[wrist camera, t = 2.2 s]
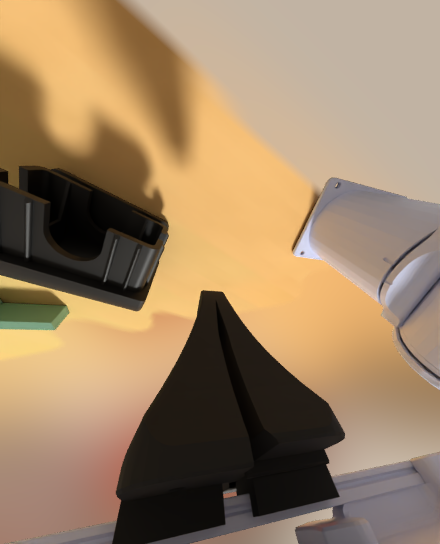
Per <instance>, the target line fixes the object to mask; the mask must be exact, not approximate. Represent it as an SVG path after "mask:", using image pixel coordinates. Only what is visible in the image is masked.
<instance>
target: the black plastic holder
mask: <svg viewBox="0 0 440 544" xmlns="http://www.w3.org/2000/svg"><path fill="white" fill-rule="evenodd" d="M168 227H169V225H168V223H167V222H166V221H165V220H163V219H161V218H159V217H157V216H155V215H153V214H151V213H149V212H147V211H145V210H143V209H141V208H139V207H137V206H135V205H133V204H131V203H129V202H127V201H125V200H123V199H121V198H119V197H117V196H115V195H113V194H111V193H109V192H107V191H105V190H103V189H101V188H99V187H97V186H95V185H93V184H91V183H89V182H87V181H85V180H83V179H81V178H79V177H77V176H75V175H73V174H71V173H69V172H67V171H65V170H62V169H52V170H50V169H47V168H44V167H40V166H19V189H18V188H16V187H14V186H11V185H9V184H8V171H6V170H4V169H1V168H0V275H2V276H6V277H10V278H13V279H17V280H21V281H25V282H28V283H32V284H36V285H40V286H43V287H47V288H51V289H55V290H58V291H62V292H66V293H70V294H73V295H77V296H81V297H85V298H88V299H92V300H96V301H100V302H103V303H107V304H111V305H115V306H118V307H122V308H126V309H130V310H133V311H139V310H140V309H141V308H142V306H143V304H144V302H145V300H146V298H147V295H148V292H149V289H150V287H151V284H152V281H153V278H154V275H155V273H156V270H157V267H158V264H159V259H160V257H161V255H162V253H163V250H164V246H165V243H166V241H167V239H168V237H169V235H168V233H167V231H168Z"/></svg>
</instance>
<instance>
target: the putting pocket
mask: <svg viewBox="0 0 440 544" xmlns="http://www.w3.org/2000/svg"><path fill="white" fill-rule="evenodd" d="M68 314H69V311H68V308H67V306H61V305H40V304H20V303H3V302H2V301H1V299H0V329H27V330H55V329H56V328H57V327H58V326H59V325H60V323H61V322H62V321H63V320H64V319H65V317H66V316H67V315H68Z"/></svg>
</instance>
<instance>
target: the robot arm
mask: <svg viewBox="0 0 440 544" xmlns="http://www.w3.org/2000/svg"><path fill="white" fill-rule="evenodd" d="M337 183H338V185H337V187H335V185H336V184H337ZM302 251H303V252H302ZM301 252H302V253H301ZM300 253H301V254H300ZM293 254H294V255H295V256H297V257H304V258H311V259H319V260H324V261H325V262H327V263H328V264H329V265H330V266H332V267H333V268H334V269H336V270H337V271H338V272H340V273H341V274H342V275H343V276H345V277H346V278H347V279H349V280H350V281H351V282H352V283H354V284H355V285H356V286H358V287H359V288H360V289H362V290H363V291H364V292H365V293H367V294H368V295H369V296H370V297H372V298H373V299H374V300H376V301H377V302H378V303H380V304H381V305H382V306H383V312H382V313H381V316H383V317H384V318H385V319H386V320H387V321H389V322H390V323H391V324H392V325H393V326H394V328H393V331H392V338H393V342H394V344H395V346H396V348H397V350H398V352H399V353H400V355H401V356H402V357H403V359H404V360H405V361H406V362H407V363H408V364H409V365H410V366H411V367H412V368H413V369H414V370H415V371H416V372H417V373H418V374H419V375H420V376H422V377H423V378H424V379H425V380H426V381H428V382H429V383H430V384H432V385H433V386H434V387H436V388H437V389H439V390H440V204H435V203H430V202H425V201H419V200H413V199H408V198H407V197H405V196H401V195H398V194H394V193H390V192H386V191H383V190H379V189H375V188H372V187H368V186H364V185H361V184H357V183H353V182H350V181H345V180H342V179H338V178H330V179H329V180H328V181H327V183H326V185H325V187H324V189H323V191H322V193H321V195H320V197H319V199H318V201H317V203H316V205H315V207H314V209H313V211H312V213H311V215H310V217H309V219H308V221H307V223H306V225H305V228H304V230H303V232H302V234H301V236H300V238H299V240H298V242H297V244H296V246H295V248H294V250H293ZM344 438H345V433H344V431H343V429H342V427H341V425H340V424H339V422H338V420H337V418H336V416H335V415H334V413H333V411H332V409H331V408H330V406H329V404H328V403H327V402H326V401H324V400H323V399H322V398H321V397H319V396H318V395H317V394H315V393H314V392H313V391H312V390H310V389H309V388H308V387H306V386H305V385H304V384H303V383H301V382H300V381H299V380H298V379H297V378H295V377H294V376H293V375H292V374H291V373H290V372H288V371H287V370H286V369H285V368H284V367H283V366H282V365H281V364H280V363H278V361H276V359H275V358H273V357H272V356H271V355H270V354H269V353H268V352H267V351H266V350H265V349H264V347H263V346H262V345H261V344H260V343H259V342H258V341H257V340H256V339H255V337H254V336H253V335H252V334H251V333H250V331H249V330H248V329H247V327H246V326H245V325H244V324H243V322H242V321H241V319H240V318H239V316H238V315H237V314H236V312H235V311H234V309H233V308H232V306H231V304H230V303H229V301H228V300H227V298H226V296H225V295H224V293H223V292H218V291H204V290H203V291H201V295H200V300H199V306H198V311H197V318H196V320H195V323H194V326H193V329H192V331H191V333H190V335H189V338H188V340H187V342H186V344H185V347H184V348H183V350H182V352H181V354H180V356H179V358H178V360H177V362H176V364H175V366H174V368H173V369H172V371H171V373H170V375H169V376H168V378H167V379H166V381H165V383H164V385H163V386H162V388H161V390H160V391H159V393H158V394H157V396H156V397H155V399H154V401H153V402H152V404H151V405H150V407H149V409H148V410H147V411H146V413H145V415H144V416H143V419H142V421H141V423H140V425H139V427H138V429H137V431H136V433H135V436H134V438H133V440H132V442H131V444H130V446H129V448H128V450H127V453H126V455H125V459H124V461H123V464H122V467H121V472H120V476H119V481H118V485H117V490H116V495H117V497H118V498H119V499H121V504H120V509H119V513H118V518H117V521H113V522H108V523H103V524H98V525H93V526H88V527H84V528H79V529H74V530H69V531H64V532H59V533H54V534H50V535H45V536H40V537H35V538H30V539H25V540H21V541H15V542H11V543H6V544H190V543H194V542H198V541H201V540H205V539H209V538H213V537H217V536H221V535H225V534H229V533H233V532H236V531H240V530H245V529H248V528H252V527H256V526H260V525H264V524H268V523H271V522H276V521H280V520H284V519H288V518H292V517H296V516H299V515H303V514H307V513H311V512H315V511H319V510H322V509H327V508H331V507H333V517H332V519H324V520H316V521H311V522H308V523H305V524H303V525H300V526H298V527H296V530H295V532H296V536H297V540H298V543H299V544H440V452H437V453H433V454H428V455H423V456H420V457H416V458H412V459H411V460H409V461H404V462H399V463H395V464H389V465H384V466H380V467H375V468H370V469H365V470H360V471H355V472H351V473H346V474H341V475H336V476H331V475H330V473H329V470H328V468H327V466H326V464H328V463H329V459H328V457H327V455H326V452H325V450H324V449H326V448H328V447H330V446H332V445H334V444H337V443H339V442H340V441H342V440H343V439H344ZM231 492H237V496H234V497H230V498H224V499H223V494H226V493H231Z"/></svg>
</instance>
